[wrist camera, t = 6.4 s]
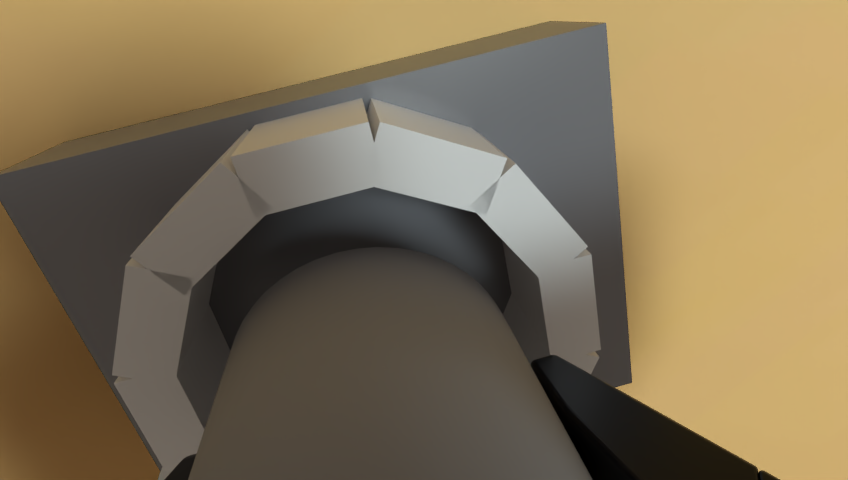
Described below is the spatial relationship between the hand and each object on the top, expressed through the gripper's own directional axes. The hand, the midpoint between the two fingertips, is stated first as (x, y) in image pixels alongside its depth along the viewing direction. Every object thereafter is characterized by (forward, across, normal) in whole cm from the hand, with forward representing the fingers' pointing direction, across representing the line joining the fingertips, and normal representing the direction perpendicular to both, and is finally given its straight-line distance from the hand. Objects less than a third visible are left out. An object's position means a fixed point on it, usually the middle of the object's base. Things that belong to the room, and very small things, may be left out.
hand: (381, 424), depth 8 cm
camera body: (+7, 0, 0) cm, 7 cm away
